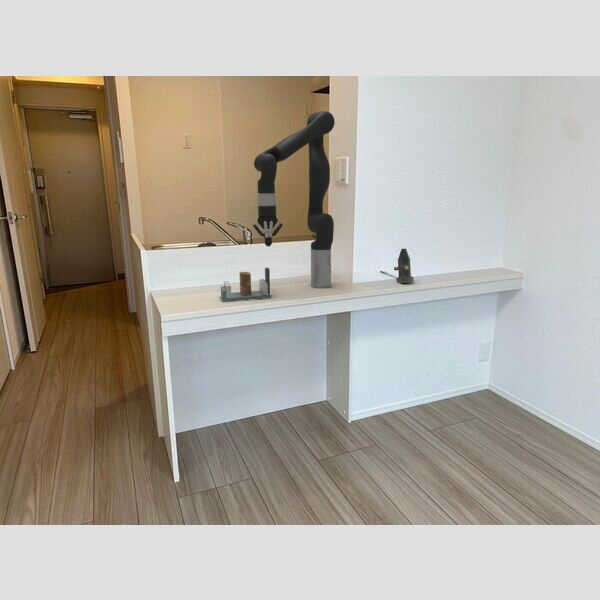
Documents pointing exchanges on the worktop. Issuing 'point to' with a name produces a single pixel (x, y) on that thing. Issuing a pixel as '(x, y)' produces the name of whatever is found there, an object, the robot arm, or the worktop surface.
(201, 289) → the worktop surface
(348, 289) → the worktop surface
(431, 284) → the worktop surface
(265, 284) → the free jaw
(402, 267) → the dark tapered tower
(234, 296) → the vise
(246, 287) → the block
